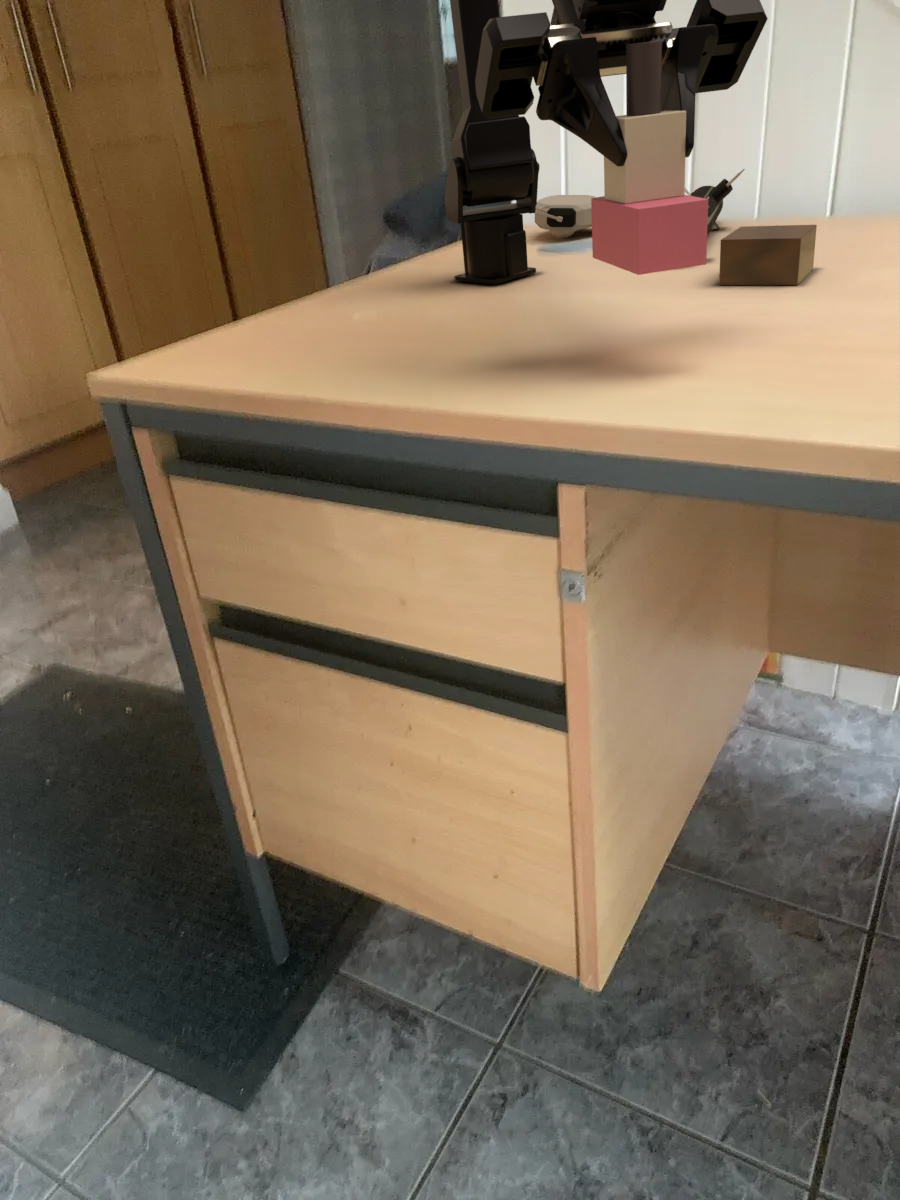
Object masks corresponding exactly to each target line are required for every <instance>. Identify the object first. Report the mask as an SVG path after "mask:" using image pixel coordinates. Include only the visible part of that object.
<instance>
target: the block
mask: <svg viewBox="0 0 900 1200" xmlns="http://www.w3.org/2000/svg"><path fill="white" fill-rule="evenodd" d="M817 227H818V226H817V224H794V225H793V224H792V225H791V224H788V225H787V224H786V225H785V224H784V225H756V226H755V225H753V226H751V225H750V226H748V225H747V226H740V227H738V228H736V229H735V230H733V231H732V232H730V233H729V234H727V235H726V236H725V237H723V238H722V239H720V246H719V248H720V249H719V250H720V253H719V254H720V255H719V274H718V275H719V276H718V278H719V279H718V285H719V286H798V285H799V284H800V283H801V282H802V281H803V280H804V279H805V278H806V277H807V276H808V275H809V274H811V272H812V271H813V270H814V264H815V262H814V261H815V252H816V251H815V249H816V239H817Z"/></svg>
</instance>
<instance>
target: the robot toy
mask: <svg viewBox="0 0 900 1200" xmlns="http://www.w3.org/2000/svg"><path fill="white" fill-rule="evenodd" d="M596 197H597V196H595V195H590V194H589V195H588V194H557V195H548V196H545V197H543V198H540V199H538V200H537V205H536V211H535V213H534V223H535V224H536V225H537V227H539V229H543V230H547V231H549V232H550V234H551V235H552V236H554V237H556V238H561V239H566V238H569V237H571V236H573V235H574V234H575V232H577V231H578V230H586V229H589V228H592V207H591V198H596Z"/></svg>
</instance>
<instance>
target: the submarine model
mask: <svg viewBox="0 0 900 1200" xmlns="http://www.w3.org/2000/svg"><path fill="white" fill-rule="evenodd" d="M744 171H745V168H743V169H742V170H740V171H739V172H738V173H736V175H734V176H733V177H732V178H731V179H730V180H729V179H727V178H723V179H722V180H721V181H720V182H719V183H718V184H717V185H716V186H713V185H703V186H699V187H698V188H697V189H695V190H694V191H692V192H689V190H688V189H687V187H685V193H686V195H689V196H694V197H700V198H705V199H708V221H707V236H708V235H709V234H710V232H711V230H712V228H713V226H714V227H716V228H717V230H720V229H721V226H719V225H718V224H717V222H716V221H717V220H718V218H719V216H720V214H721V212H722V211H723V207H724V199H725V198H727V196H729V195H730V193H731V192H733V190H734V188H733V185H732V184H733V183H734V182H735V181H736V180H737V179H738V178H739V177H740V176H741V175H742V173H743V172H744Z"/></svg>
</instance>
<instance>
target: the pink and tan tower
mask: <svg viewBox="0 0 900 1200" xmlns="http://www.w3.org/2000/svg"><path fill="white" fill-rule="evenodd" d="M625 80H626V81H625V88H626V89H625V91H626V95H625V96H626V97H625V98H626V100H625V101H626V102H625V103H626V114H623V115H616V118H617V120H618V123H619V125H620V128H621V131H622V134H623V138H624V142H625V145H626V149H627V159H626V161H625V163H624V165H623V166H619V167H618V166H616V165H615V164H614V163H612V162H611V161H610V160H608V159H607V158H606V157H605V156H603V184H604V185H603V186H604V191H603V193H604V195H603V196H595V197H596V198H591V207H592V227H591V240H592V241H591V243H592V245H591V247H592V249H591V250H592V259H595V260H598V261H601V262H603V263H606V264H608V265H611V266H613V267H616V268H619V269H622V270H624V271H627V272H630V273H632V274H635V275H638V276H641V275H646V274H647V275H649V274H653V273H660V272H667V271H674V270H679V269H686V268H693V267H699V266H705V265H707V252H708V251H707V249H708V248H707V247H708V235H707V221H708V199H705V198H700V197H694V196H689V195H688V194H685V193H686V192H685V188H686V158H685V143H686V111H663V110H661V103H662V41H661V40H660V41H651V42H642V43H634V44H627V45H626V74H625Z"/></svg>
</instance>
